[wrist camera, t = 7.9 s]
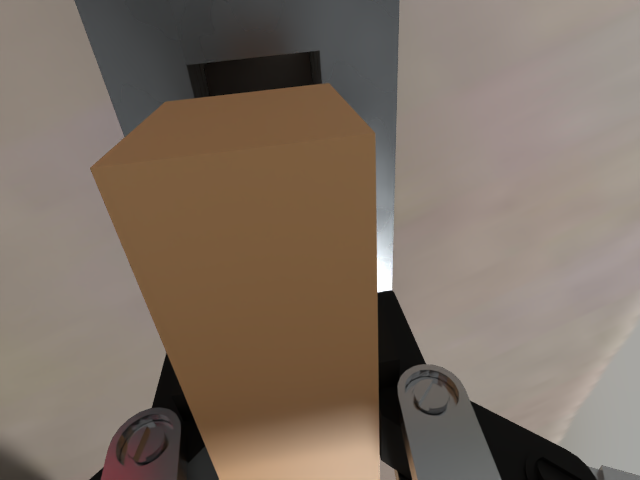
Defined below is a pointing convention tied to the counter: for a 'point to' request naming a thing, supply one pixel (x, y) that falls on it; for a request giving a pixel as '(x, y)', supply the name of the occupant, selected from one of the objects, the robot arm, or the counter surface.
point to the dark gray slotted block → (249, 42)
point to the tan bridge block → (260, 273)
